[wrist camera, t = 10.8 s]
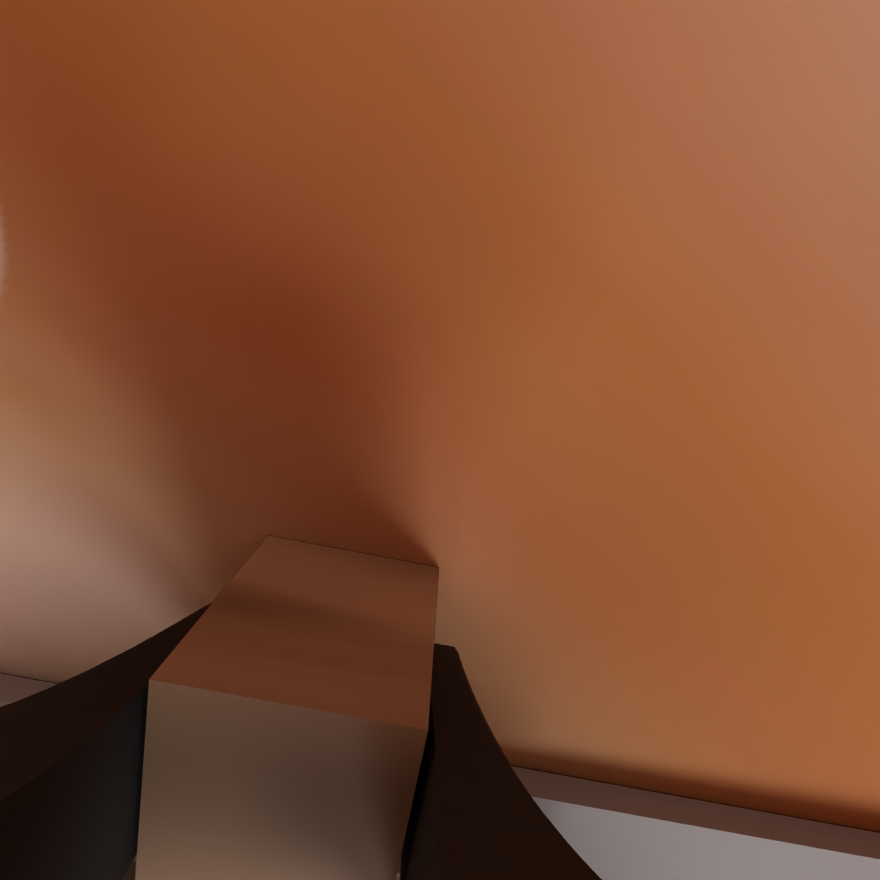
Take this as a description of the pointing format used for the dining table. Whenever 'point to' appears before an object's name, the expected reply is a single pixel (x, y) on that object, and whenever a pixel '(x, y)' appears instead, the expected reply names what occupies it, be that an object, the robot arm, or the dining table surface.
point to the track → (664, 830)
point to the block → (291, 722)
